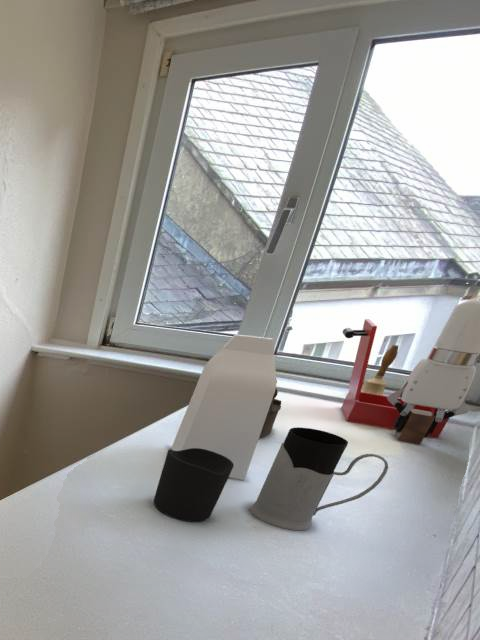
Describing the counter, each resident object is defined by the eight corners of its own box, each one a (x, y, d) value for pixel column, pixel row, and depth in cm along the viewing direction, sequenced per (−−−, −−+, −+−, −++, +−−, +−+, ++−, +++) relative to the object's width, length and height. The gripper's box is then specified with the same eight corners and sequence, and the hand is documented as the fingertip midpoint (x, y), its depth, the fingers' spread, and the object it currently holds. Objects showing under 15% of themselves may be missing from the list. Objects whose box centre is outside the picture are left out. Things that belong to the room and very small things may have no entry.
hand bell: (386, 399, 163) (414, 346, 156) (385, 405, 157) (414, 350, 150) (350, 392, 168) (376, 340, 161) (348, 398, 162) (374, 344, 155)
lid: (369, 319, 143) (343, 319, 146) (377, 326, 133) (349, 326, 136) (352, 388, 150) (327, 387, 153) (358, 400, 140) (332, 399, 143)
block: (415, 438, 133) (430, 411, 130) (419, 444, 129) (435, 417, 126) (393, 434, 135) (408, 407, 132) (397, 440, 131) (412, 413, 128)
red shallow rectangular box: (425, 423, 144) (436, 404, 142) (437, 438, 134) (449, 417, 132) (340, 408, 153) (349, 389, 150) (346, 421, 143) (355, 401, 140)
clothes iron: (225, 436, 128) (246, 380, 122) (234, 419, 139) (254, 368, 133) (265, 445, 124) (290, 388, 118) (272, 427, 135) (294, 374, 129)
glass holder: (247, 499, 99) (281, 422, 92) (345, 522, 93) (389, 441, 86) (251, 520, 92) (288, 438, 86) (358, 546, 86) (407, 460, 80)
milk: (175, 466, 111) (220, 337, 99) (171, 447, 120) (212, 327, 109) (244, 480, 107) (300, 347, 95) (234, 459, 116) (285, 335, 104)
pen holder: (213, 530, 89) (236, 475, 84) (149, 513, 93) (167, 460, 88) (210, 506, 96) (231, 454, 92) (151, 492, 100) (168, 441, 96)
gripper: (499, 361, 122) (453, 437, 130) (399, 348, 130) (362, 420, 138) (510, 368, 116) (462, 447, 124) (406, 353, 124) (367, 428, 133)
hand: (410, 432), depth 131 cm, fingers closed on block, 4 cm apart
